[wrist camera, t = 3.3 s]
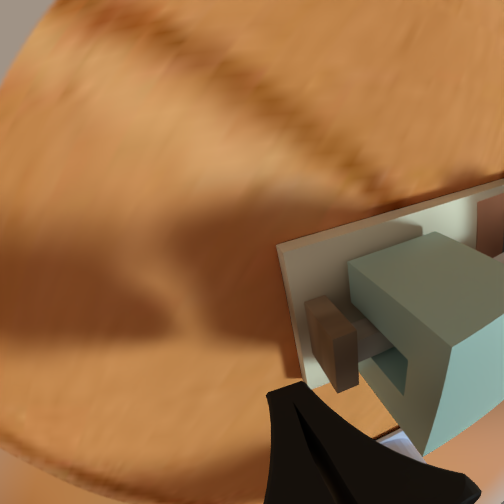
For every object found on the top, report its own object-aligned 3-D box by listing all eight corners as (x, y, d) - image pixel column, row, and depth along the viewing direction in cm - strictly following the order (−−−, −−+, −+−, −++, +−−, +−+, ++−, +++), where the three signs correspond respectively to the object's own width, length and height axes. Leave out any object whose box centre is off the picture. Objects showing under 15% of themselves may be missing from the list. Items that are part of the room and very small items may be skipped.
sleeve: (430, 330, 16) (505, 398, 10) (354, 366, 15) (422, 457, 9) (435, 231, 14) (542, 284, 8) (347, 261, 13) (451, 347, 7)
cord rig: (510, 276, 19) (566, 309, 13) (302, 378, 17) (346, 461, 11) (518, 174, 16) (586, 194, 10) (275, 244, 14) (337, 315, 8)
